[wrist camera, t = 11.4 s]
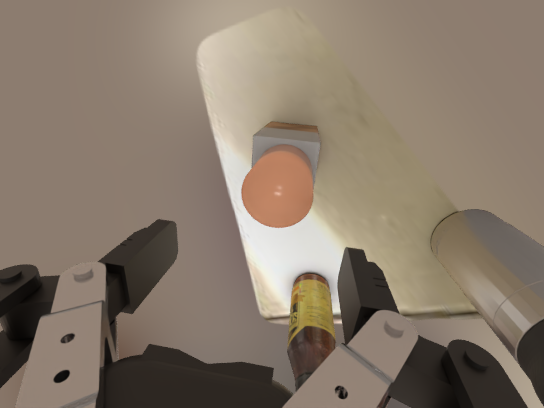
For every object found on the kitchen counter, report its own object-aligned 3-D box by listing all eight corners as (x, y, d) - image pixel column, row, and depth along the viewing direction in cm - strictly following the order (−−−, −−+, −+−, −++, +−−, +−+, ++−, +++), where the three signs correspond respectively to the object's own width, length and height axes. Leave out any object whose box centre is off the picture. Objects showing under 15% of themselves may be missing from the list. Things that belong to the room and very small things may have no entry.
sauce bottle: (290, 271, 43) (277, 401, 25) (329, 271, 42) (343, 405, 24) (294, 302, 46) (283, 440, 28) (330, 302, 45) (344, 446, 27)
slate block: (318, 132, 28) (320, 142, 23) (310, 184, 31) (310, 205, 25) (264, 127, 29) (253, 135, 23) (260, 178, 31) (249, 197, 26)
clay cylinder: (316, 147, 23) (318, 164, 18) (308, 201, 25) (308, 231, 20) (258, 141, 23) (242, 156, 18) (255, 194, 26) (240, 222, 20)
